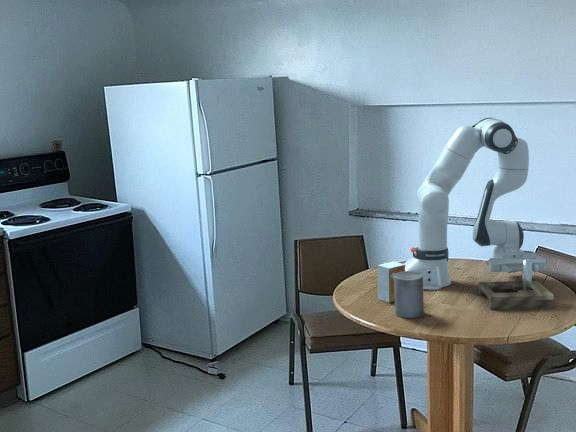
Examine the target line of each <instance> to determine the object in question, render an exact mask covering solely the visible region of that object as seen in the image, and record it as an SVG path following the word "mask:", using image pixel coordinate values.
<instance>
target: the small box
mask: <svg viewBox="0 0 576 432" xmlns="http://www.w3.org/2000/svg"><path fill="white" fill-rule="evenodd" d="M404 271H405V264H404V263H401V262H398V261H394V260H393V261H389V262H385V263H382V264H381V263H380V264H378V265H377V300H381V301H383V302H385V303H393V302H394V303H395V292H394V275H395V274H396V273H399V272H404Z"/></svg>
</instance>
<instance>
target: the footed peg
mask: <svg viewBox="0 0 576 432" xmlns="http://www.w3.org/2000/svg"><path fill="white" fill-rule="evenodd" d="M522 281H523V285H522V290H531V289H532V281H533V271H532V259H529V258H525V259H523V271H522Z"/></svg>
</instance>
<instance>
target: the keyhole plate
mask: <svg viewBox="0 0 576 432" xmlns="http://www.w3.org/2000/svg"><path fill="white" fill-rule="evenodd" d="M522 285H523V280H512V281H511V280H509V281H508V280H507V281H480V282H478V296H480V297H481V296H482V297H487V298H488V301H489V302H488V303H489V305H488V308H489V309H490V311H496V310H498V311H499V310H526V309H527V310H528V309H529V310H530V309H554V306H555V305H554V303H555V295H554V294H553V293H552V292H551V291H549V289H548V288H546V287H545V286H544V285H542V283H540V282H539V281H538V280H532V289H531V290H522Z"/></svg>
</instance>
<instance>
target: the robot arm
mask: <svg viewBox="0 0 576 432" xmlns="http://www.w3.org/2000/svg"><path fill="white" fill-rule="evenodd" d="M483 147H484V148H486V149H489V150H492V151H493V152H496V153H497V158H498V160H497V168H496V172H495V175H494V176H493V178H491V179H490V180H488V181H487V183H486V185H485V187H484V190H483V191H484V192H483V194H482V199H481V201H480V205H479V209H478V213H477V217H476V220H475V222H474V225H473V228H472V239H473V241H474V243H476V245H479V246H480V247H490V246H491V250H490V251H491V252H490V253H491V256H492V257H491V258H489V259H488V260H485V262H484V263H485V265H487V266H488V271H490V272H491V273H501V272H502V273H506V274H512V273H513V274H515V273H517V272H523V259H525V258H529V259H532V273H533V272H534V273H539V272H542V271H543V272H544V271H546V270H547V260H546V259H545V258H543V257H542V255H541V256H540V255H539V254H538V255H537V253H536V252H535V251H533V250H532V251H531V250H523V249H522V246H523V244H524V239H525V238H524V236H525V235H524V230H523V228H522V226H521V224H520V223H519V222H518V221H516V220H491V219H490V218H491V216H492V211H493V208H494V203H495V202H496V200H497V199H498V198H500V197H501V196H504V195H506V194H508V193H512V192H514V191H517V190H519V189H520V188H521V187H523V186H524V185H525V184H526V182H527V179H528V174H529V167H530V166H529V165H530V164H529V163H530V162H529V161H530V156H529V155H530V154H529V145H528V142H527V141H526V140H524V139H523V138H521V137H520V138H519V137H517V136H516V134H515V130H514V129H513V128H512V126H511V125H509V123H506V122H505V121H503V120H501V119H498V118H495V117H486V118H485V117H484V118H482V119H480V120H479V121H478V122H477V123H475V124H473V125H472V126H471V125H466V124H465V125H461V126H459V127H458V128H457V129H456V130H455V131H454V133H453V134H452V135H451V136H450V138H449V139H448V141H447V143H446V144H445V146H444V148H443V149H442V151H441V153H440V154H439V156H438V158H437V160H436V161H435V163H434V165H433V167H432V168H431V170H430V171H429V173H428V174H427V176H426V177H425V179H424V180H423V182H422V184H421V185H420V186H419V188H418V190H417V193H416V200H417V203H418V221H417V222H418V223H417V247H415V246H411V247H410V251H411V252H410V253H412V257H410V258H409V259H408V260H406V261H405V262H404V263H403V264H405V271H413V272H419V273H421V274H422V275H423V290H433V291H435V290H441V289H442V288H445V287H448V286H450V285H451V284H452V280H451V276H450V272H449V265H448V263H449V252H450V251H449V247H448V220H449V207H450V205H449V204H450V199H449V195H450V194H451V192H452V191H453V189H454V188H455V187H456V185H457V184H458V183H459V182H460V180H462V177H463V176H464V174H465V172H466V171H467V168H468V167H469V165H470V163H471V162H472V160H473V158H474V156H475V154H476V153H477V152H478V151H479V150H480V149H481V148H483Z"/></svg>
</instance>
